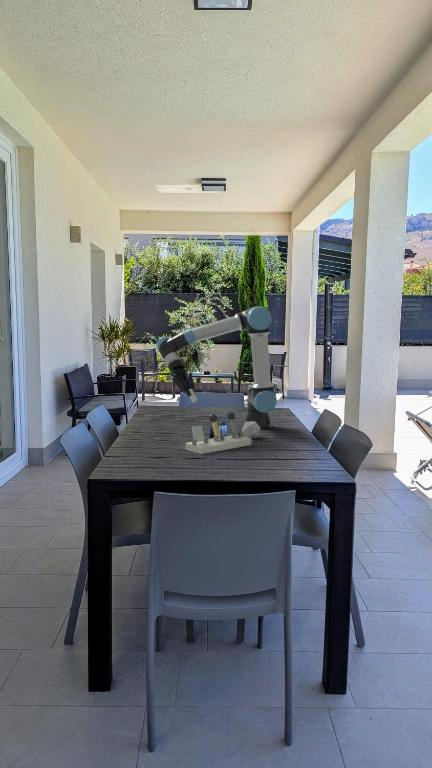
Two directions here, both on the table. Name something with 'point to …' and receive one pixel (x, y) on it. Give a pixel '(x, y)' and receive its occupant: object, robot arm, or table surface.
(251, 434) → the die
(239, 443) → the panel
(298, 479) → the table surface
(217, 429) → the brass lever
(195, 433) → the sage paddle
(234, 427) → the grey lever
